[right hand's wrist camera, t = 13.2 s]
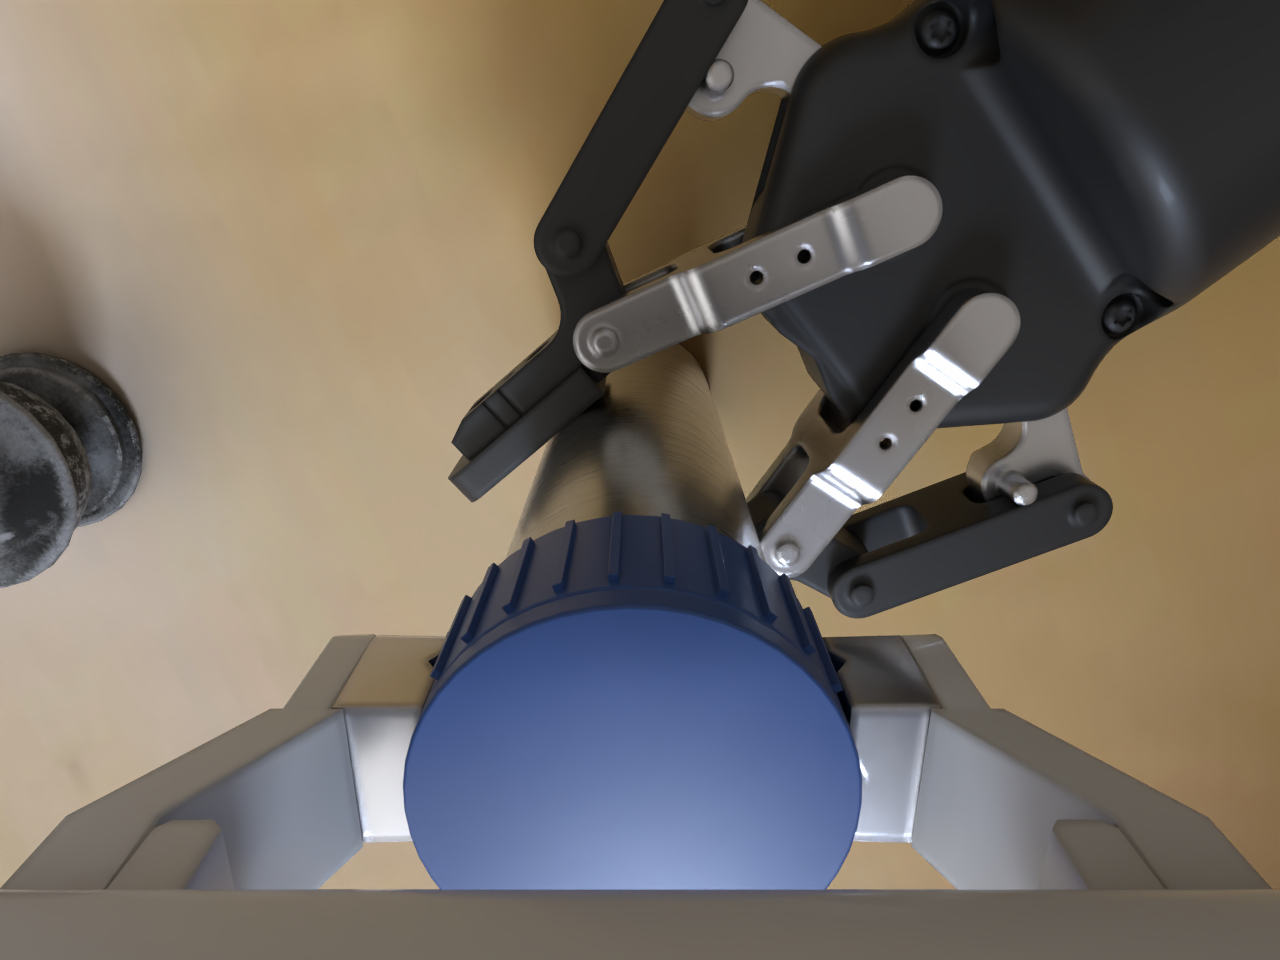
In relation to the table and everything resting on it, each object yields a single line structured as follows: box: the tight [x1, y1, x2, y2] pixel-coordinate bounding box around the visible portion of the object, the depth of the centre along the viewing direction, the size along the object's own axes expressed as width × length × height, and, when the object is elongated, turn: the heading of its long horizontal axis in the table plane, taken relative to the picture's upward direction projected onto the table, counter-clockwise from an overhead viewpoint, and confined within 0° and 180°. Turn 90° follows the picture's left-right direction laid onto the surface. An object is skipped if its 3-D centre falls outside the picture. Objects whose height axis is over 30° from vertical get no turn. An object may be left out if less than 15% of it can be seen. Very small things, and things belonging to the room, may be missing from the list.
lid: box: [403, 512, 862, 890], centre depth 9 cm, size 5×5×2 cm
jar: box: [506, 344, 766, 562], centre depth 16 cm, size 4×4×16 cm
